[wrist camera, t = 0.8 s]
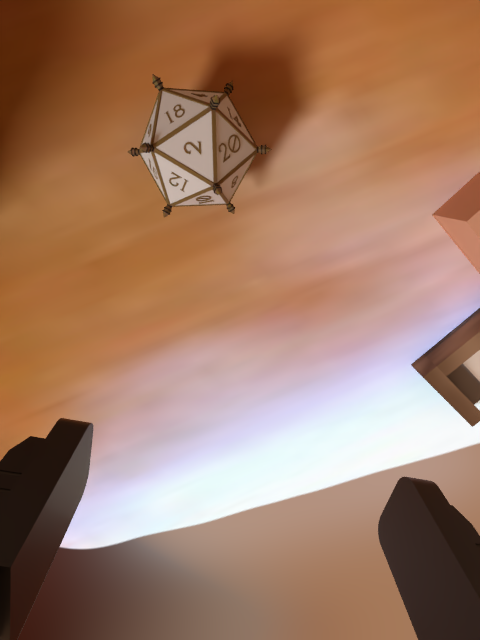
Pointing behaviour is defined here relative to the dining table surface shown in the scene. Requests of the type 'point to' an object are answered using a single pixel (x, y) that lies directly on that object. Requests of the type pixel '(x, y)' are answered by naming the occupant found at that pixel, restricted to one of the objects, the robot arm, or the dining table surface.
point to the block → (464, 220)
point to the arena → (456, 368)
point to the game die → (196, 147)
